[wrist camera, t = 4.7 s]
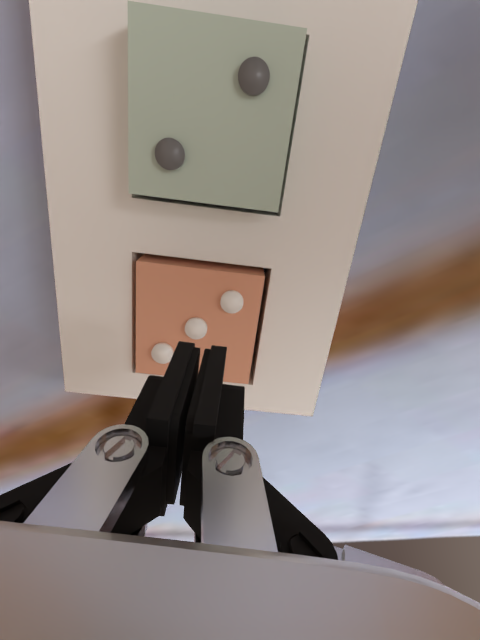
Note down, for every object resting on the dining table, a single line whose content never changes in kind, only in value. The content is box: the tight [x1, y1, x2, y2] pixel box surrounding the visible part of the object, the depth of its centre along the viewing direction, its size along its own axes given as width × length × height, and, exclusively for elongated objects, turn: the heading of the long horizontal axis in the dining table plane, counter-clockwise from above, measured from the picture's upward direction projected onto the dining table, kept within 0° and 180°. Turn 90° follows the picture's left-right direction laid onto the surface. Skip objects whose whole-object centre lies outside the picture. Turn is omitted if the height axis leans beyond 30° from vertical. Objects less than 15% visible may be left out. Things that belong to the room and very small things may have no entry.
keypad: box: [29, 0, 418, 416], centre depth 15 cm, size 14×28×3 cm, turn 173°
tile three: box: [136, 254, 265, 384], centre depth 18 cm, size 6×6×3 cm
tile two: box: [128, 1, 307, 213], centre depth 14 cm, size 6×6×3 cm
